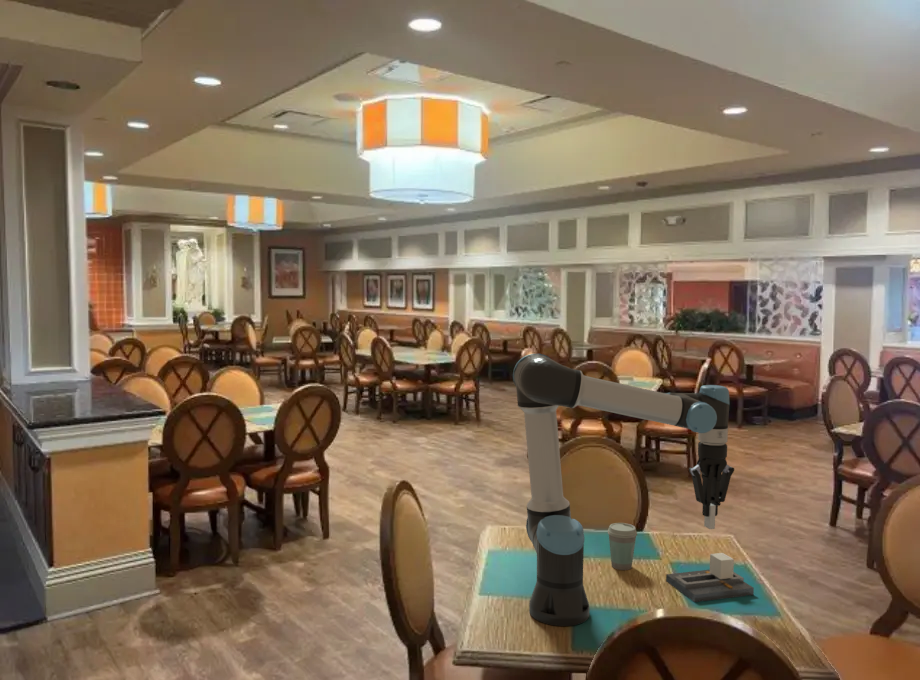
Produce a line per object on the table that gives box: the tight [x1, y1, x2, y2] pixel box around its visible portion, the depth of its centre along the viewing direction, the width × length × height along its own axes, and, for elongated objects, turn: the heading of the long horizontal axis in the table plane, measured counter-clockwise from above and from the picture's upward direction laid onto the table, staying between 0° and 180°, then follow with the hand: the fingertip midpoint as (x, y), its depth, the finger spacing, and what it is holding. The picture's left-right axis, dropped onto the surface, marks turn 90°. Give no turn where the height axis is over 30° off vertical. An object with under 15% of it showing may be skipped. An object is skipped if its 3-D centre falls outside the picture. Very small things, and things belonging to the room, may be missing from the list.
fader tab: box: [709, 552, 735, 579], centre depth 200 cm, size 4×5×6 cm
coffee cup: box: [607, 522, 638, 571], centre depth 214 cm, size 8×8×12 cm
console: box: [665, 569, 755, 603], centre depth 199 cm, size 18×14×3 cm
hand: (709, 527), depth 198 cm, fingers closed
